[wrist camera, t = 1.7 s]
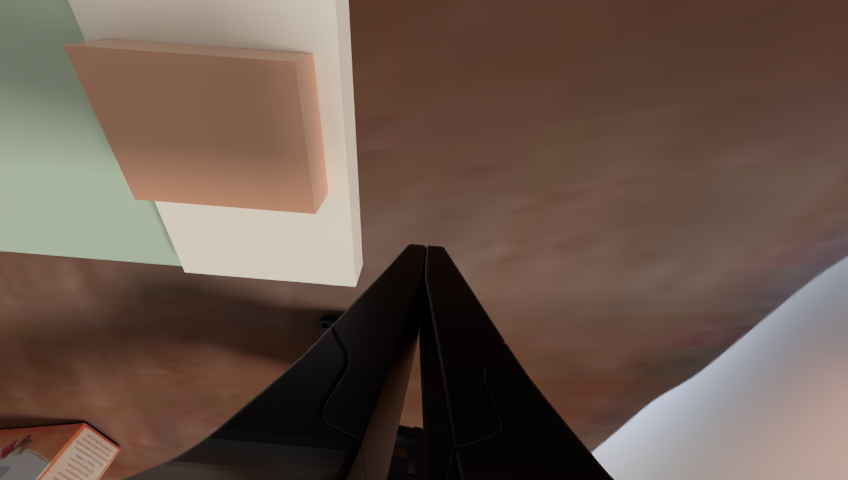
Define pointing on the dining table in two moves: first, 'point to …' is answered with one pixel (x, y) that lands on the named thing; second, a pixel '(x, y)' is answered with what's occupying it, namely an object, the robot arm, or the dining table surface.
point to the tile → (208, 122)
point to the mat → (62, 152)
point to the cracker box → (55, 453)
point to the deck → (331, 45)
